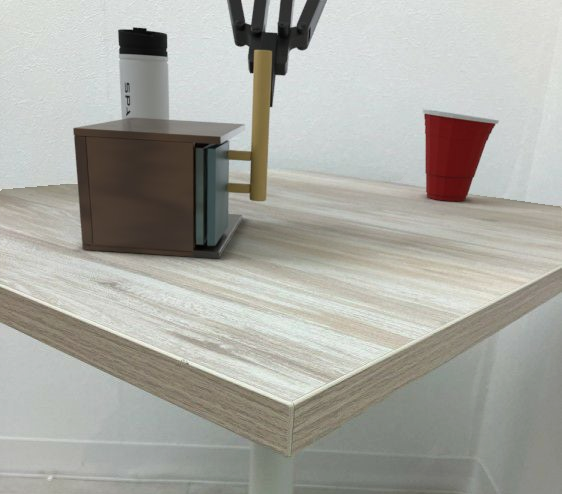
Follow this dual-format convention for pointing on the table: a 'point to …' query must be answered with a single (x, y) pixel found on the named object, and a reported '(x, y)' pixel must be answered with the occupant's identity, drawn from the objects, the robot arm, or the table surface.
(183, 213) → the brown wooden cabinet
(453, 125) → the plastic cup
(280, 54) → the robot arm
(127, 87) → the travel mug
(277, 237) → the table surface
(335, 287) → the table surface
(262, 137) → the glass door
